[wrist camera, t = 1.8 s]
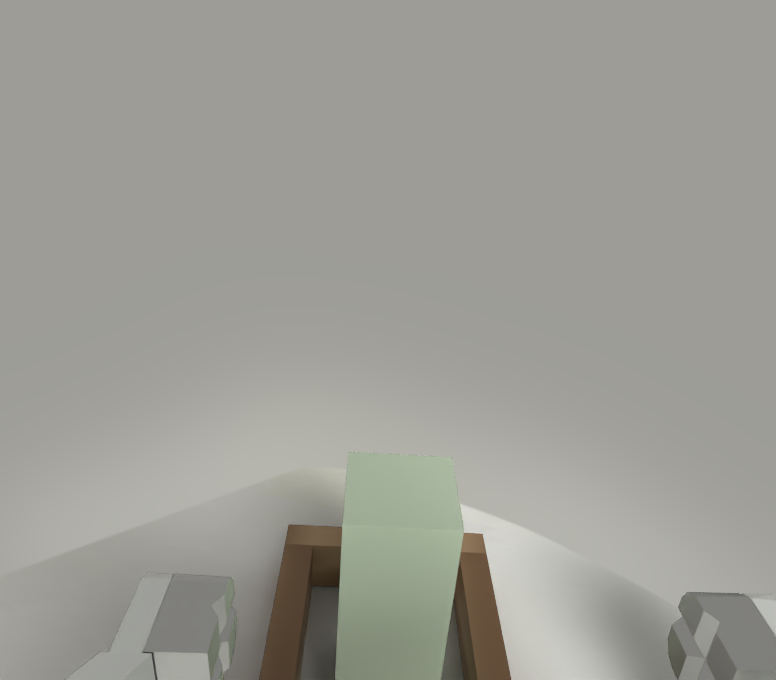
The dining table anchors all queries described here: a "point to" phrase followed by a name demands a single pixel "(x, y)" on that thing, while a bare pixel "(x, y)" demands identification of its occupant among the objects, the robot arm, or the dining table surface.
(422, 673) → the sage block
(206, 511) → the dining table surface
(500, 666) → the frame
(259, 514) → the dining table surface
